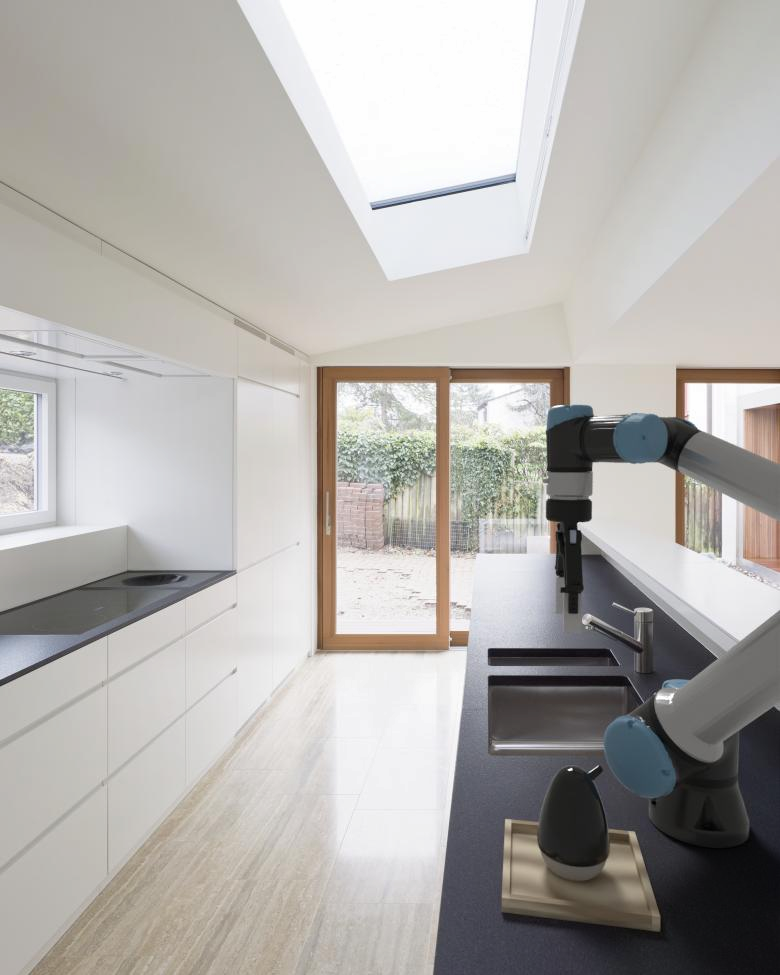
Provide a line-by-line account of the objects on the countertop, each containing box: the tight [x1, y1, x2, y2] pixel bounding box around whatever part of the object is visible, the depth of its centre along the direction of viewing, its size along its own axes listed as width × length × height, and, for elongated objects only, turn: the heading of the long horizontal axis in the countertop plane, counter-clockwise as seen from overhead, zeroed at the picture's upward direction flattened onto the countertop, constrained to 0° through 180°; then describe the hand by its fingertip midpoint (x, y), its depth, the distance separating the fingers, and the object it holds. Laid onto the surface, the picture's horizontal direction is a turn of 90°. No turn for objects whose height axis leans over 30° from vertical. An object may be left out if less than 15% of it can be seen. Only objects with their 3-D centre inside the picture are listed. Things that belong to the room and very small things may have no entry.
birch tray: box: [501, 818, 661, 933], centre depth 98 cm, size 20×20×2 cm
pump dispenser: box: [537, 764, 610, 881], centre depth 98 cm, size 10×10×15 cm
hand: (567, 622), depth 115 cm, fingers open, 13 cm apart
